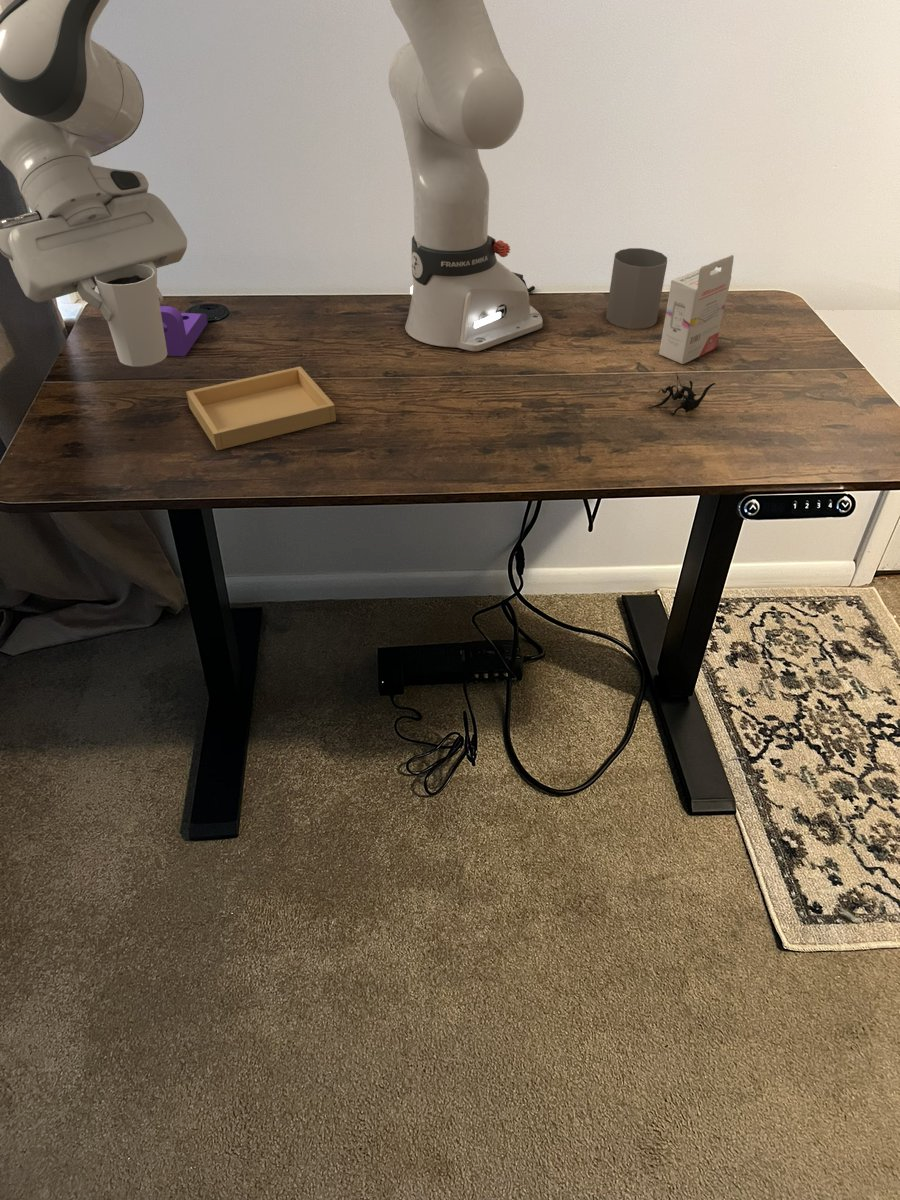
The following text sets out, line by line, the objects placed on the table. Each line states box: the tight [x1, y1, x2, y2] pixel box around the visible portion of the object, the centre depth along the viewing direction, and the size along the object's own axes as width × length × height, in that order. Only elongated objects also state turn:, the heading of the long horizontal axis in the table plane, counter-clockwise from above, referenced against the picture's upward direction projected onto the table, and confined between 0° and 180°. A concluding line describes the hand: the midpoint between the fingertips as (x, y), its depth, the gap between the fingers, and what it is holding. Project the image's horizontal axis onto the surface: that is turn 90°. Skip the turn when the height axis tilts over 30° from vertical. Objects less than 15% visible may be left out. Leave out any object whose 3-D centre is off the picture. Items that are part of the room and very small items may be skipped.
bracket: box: [160, 305, 209, 357], centre depth 133 cm, size 12×7×7 cm, turn 176°
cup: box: [605, 247, 668, 330], centre depth 140 cm, size 8×8×10 cm
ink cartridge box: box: [658, 254, 735, 365], centre depth 129 cm, size 9×5×15 cm, turn 131°
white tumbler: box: [94, 264, 168, 367], centre depth 102 cm, size 7×7×10 cm
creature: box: [648, 372, 717, 416], centre depth 119 cm, size 8×5×8 cm
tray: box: [185, 366, 337, 451], centre depth 117 cm, size 17×13×2 cm
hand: (136, 310), depth 101 cm, fingers closed on white tumbler, 4 cm apart
